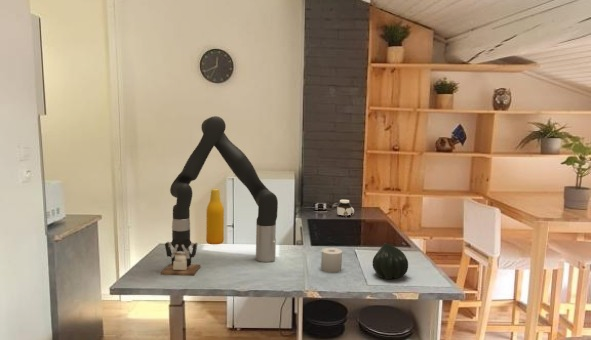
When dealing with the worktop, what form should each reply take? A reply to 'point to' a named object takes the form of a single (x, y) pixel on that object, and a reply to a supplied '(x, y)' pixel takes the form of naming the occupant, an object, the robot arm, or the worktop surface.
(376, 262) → the squash
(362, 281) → the worktop surface
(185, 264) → the knob
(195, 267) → the plate
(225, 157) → the robot arm
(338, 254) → the toilet tissue
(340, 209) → the spread jar
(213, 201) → the beer bottle
